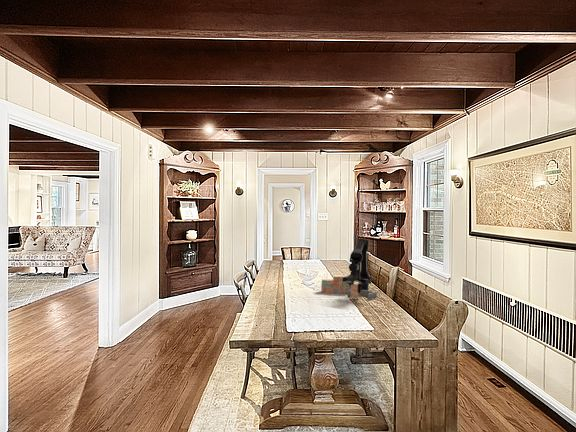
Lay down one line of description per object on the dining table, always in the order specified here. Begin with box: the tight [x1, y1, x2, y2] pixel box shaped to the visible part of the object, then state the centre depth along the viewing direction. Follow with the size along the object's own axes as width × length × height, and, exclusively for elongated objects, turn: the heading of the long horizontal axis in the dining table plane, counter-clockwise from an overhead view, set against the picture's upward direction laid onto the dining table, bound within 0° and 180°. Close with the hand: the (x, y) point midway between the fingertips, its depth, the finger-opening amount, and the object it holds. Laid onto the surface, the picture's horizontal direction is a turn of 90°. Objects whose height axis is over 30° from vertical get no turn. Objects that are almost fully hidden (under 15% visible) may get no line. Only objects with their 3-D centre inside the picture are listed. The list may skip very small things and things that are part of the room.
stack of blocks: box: [321, 274, 351, 294], centre depth 338 cm, size 21×6×12 cm, turn 86°
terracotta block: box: [349, 283, 362, 298], centre depth 315 cm, size 5×5×8 cm
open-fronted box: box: [347, 289, 378, 301], centre depth 322 cm, size 11×17×4 cm, turn 50°
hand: (355, 292), depth 315 cm, fingers closed on terracotta block, 5 cm apart
